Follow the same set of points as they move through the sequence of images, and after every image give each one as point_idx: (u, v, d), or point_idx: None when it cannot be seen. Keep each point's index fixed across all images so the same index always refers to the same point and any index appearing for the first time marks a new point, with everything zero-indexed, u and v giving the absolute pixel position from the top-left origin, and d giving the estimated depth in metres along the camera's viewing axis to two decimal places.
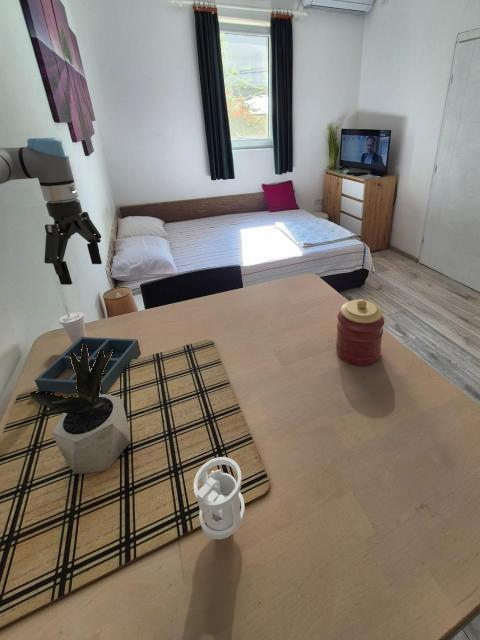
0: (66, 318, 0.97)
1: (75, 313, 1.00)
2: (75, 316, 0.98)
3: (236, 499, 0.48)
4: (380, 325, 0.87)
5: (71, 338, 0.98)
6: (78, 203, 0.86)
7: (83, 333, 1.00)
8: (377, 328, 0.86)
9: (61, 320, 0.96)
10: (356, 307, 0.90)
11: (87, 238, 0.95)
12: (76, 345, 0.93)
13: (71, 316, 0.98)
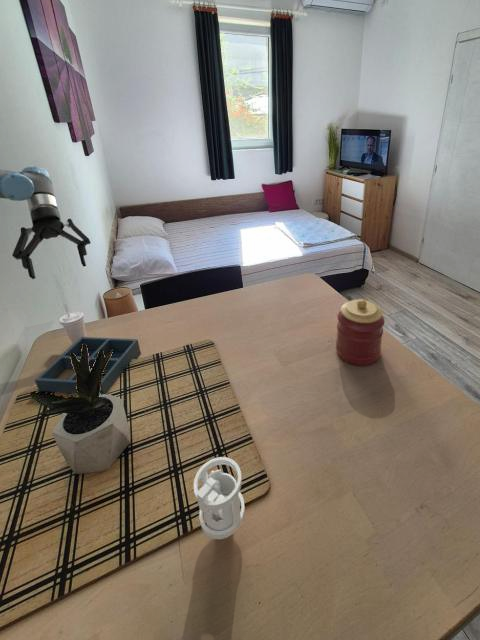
0: (66, 318, 0.97)
1: (75, 313, 1.00)
2: (75, 316, 0.98)
3: (236, 499, 0.48)
4: (380, 325, 0.87)
5: (71, 338, 0.98)
6: None
7: (83, 333, 1.00)
8: (377, 328, 0.86)
9: (61, 320, 0.96)
10: (356, 307, 0.90)
11: (30, 250, 0.99)
12: (76, 345, 0.93)
13: (71, 316, 0.98)
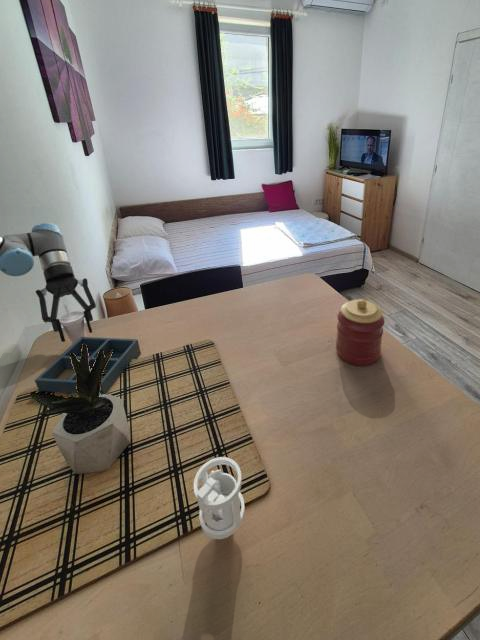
0: (66, 318, 0.97)
1: (75, 313, 1.00)
2: (75, 316, 0.98)
3: (236, 499, 0.48)
4: (380, 325, 0.87)
5: (71, 338, 0.98)
6: None
7: (83, 333, 1.00)
8: (377, 328, 0.86)
9: (61, 320, 0.96)
10: (356, 307, 0.90)
11: (56, 311, 0.97)
12: (76, 345, 0.93)
13: (71, 316, 0.98)
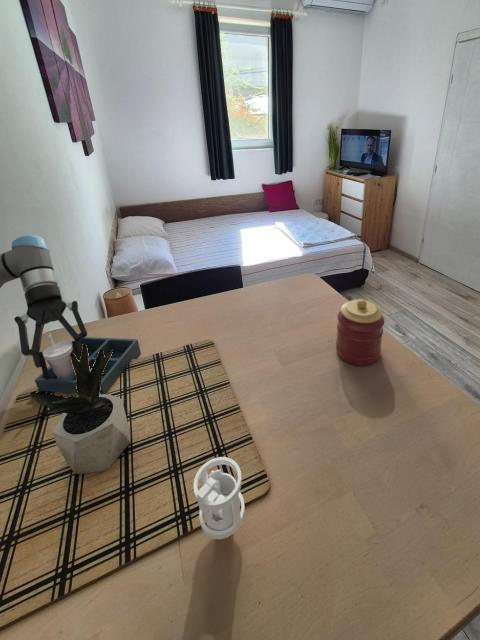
0: (51, 351, 0.81)
1: (62, 344, 0.83)
2: (62, 348, 0.82)
3: (236, 499, 0.48)
4: (380, 325, 0.87)
5: (57, 374, 0.82)
6: None
7: (72, 368, 0.84)
8: (377, 328, 0.86)
9: (45, 353, 0.80)
10: (356, 307, 0.90)
11: (39, 342, 0.81)
12: None
13: (57, 348, 0.81)
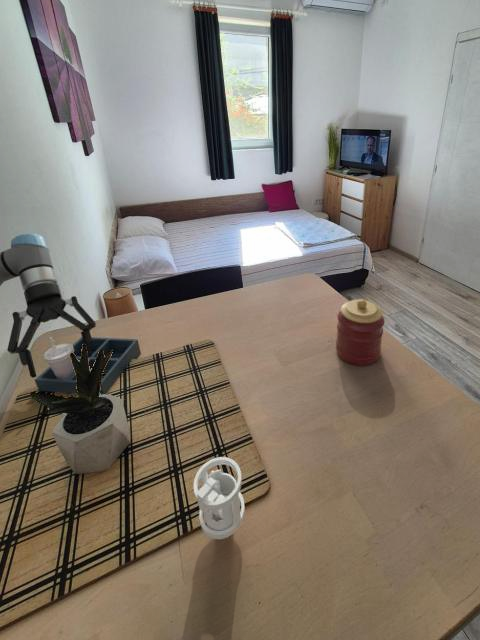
0: (52, 353, 0.81)
1: (63, 346, 0.84)
2: (63, 350, 0.82)
3: (236, 499, 0.48)
4: (380, 325, 0.87)
5: (58, 376, 0.82)
6: None
7: (73, 370, 0.84)
8: (377, 328, 0.86)
9: (46, 356, 0.80)
10: (356, 307, 0.90)
11: (29, 340, 0.80)
12: (76, 345, 0.93)
13: (58, 350, 0.82)
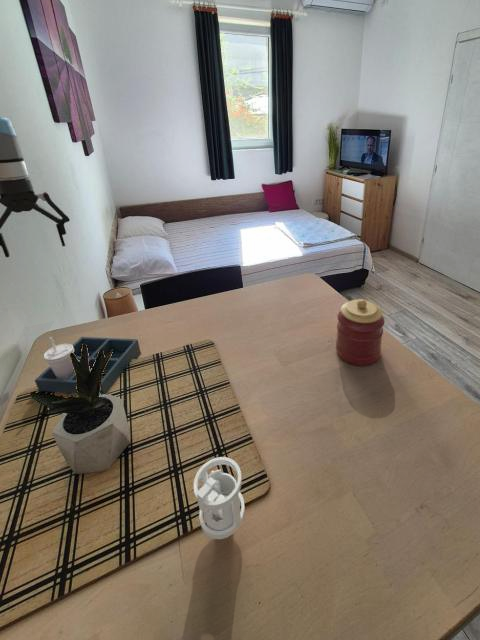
0: (52, 353, 0.81)
1: (63, 346, 0.84)
2: (63, 350, 0.82)
3: (236, 499, 0.48)
4: (380, 325, 0.87)
5: (58, 376, 0.82)
6: None
7: (73, 370, 0.84)
8: (377, 328, 0.86)
9: (46, 356, 0.80)
10: (356, 307, 0.90)
11: (1, 226, 0.90)
12: (76, 345, 0.93)
13: (58, 350, 0.82)
